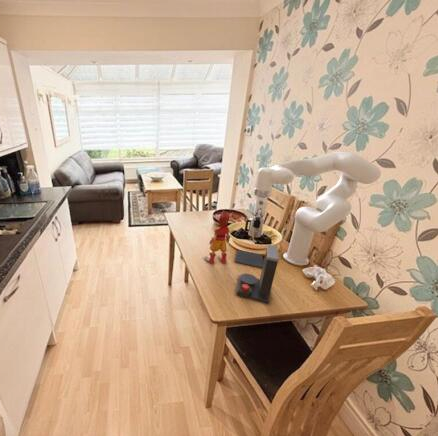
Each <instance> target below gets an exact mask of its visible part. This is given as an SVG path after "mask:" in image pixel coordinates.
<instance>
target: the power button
mask: <svg viewBox="0 0 438 436" xmlns="http://www.w3.org/2000/svg"><path fill="white" fill-rule="evenodd" d="M242 290H243V291H248V290H249V286H248V285H246V284H243V285H242Z"/></svg>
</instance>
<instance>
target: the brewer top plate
mask: <svg viewBox="0 0 438 436" xmlns="http://www.w3.org/2000/svg"><path fill="white" fill-rule="evenodd" d="M236 252H237V253H236V256H235V257H236V258H235V261H234V262H235V263H236V264H240V265H245V266H250V267H255V268H259V269H262V268H263V263H264V254H261V253H256V252H251V251H246V250H242V249H237V251H236Z"/></svg>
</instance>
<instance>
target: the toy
mask: <svg viewBox="0 0 438 436" xmlns="http://www.w3.org/2000/svg"><path fill="white" fill-rule="evenodd" d="M213 217H214V218H215V219H216V220H217V223H218V225H219V227H218V228H217V229H216V228H215V230H214V235H213V237H212V236H211V239H210V240H209V250H210V251H211V252H209V255H207V256H206V257H205V258H204V259H205V260H206V261H207V262H208V263H210V264H214V263H215V258H216V256H217V254H216V252H218V251H220V255H219V260H220V261H221V262H222V264H226V261H227V260H226V258H227V253H226V252H227V249H228V248H227V244H228V243H229V242H230V239H231V235H230V228H229V226H228V224H229V220H230V215H228V214H227V213H226V211H225V210H224V209H223V210H222V211H221V213H220V214H218V213H215V214H214V215H213Z"/></svg>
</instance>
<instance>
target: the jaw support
mask: <svg viewBox="0 0 438 436" xmlns="http://www.w3.org/2000/svg"><path fill="white" fill-rule="evenodd" d="M326 270H327V269H326V268H323V267H320V266H318V265H316V264H314V265H313V266H310V267H306V268H303V269H301V271H302V272H303V274H304V275H305V276H306V277H307V278H312V279H315V280H313V282H312V283H311V284H310V285H311V287H313V288H314V289H315V290H316V291H318V288H319V287H320V288H321V289H322V290H324V291H326V290H327V289H329V288H330V287H333V286H334V285H335V284H336V279H334V278H333V276H332V274H329V273H328V272H327V271H326Z"/></svg>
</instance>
